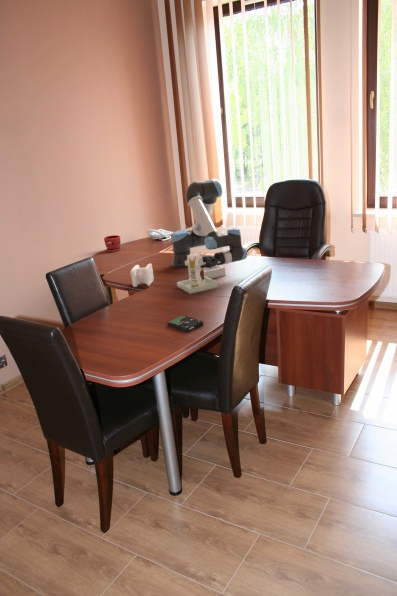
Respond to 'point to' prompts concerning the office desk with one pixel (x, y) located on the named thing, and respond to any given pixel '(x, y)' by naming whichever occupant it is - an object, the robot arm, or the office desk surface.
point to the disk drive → (185, 323)
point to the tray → (207, 285)
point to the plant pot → (112, 243)
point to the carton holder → (214, 271)
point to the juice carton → (195, 275)
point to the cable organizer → (142, 275)
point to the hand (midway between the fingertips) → (189, 265)
